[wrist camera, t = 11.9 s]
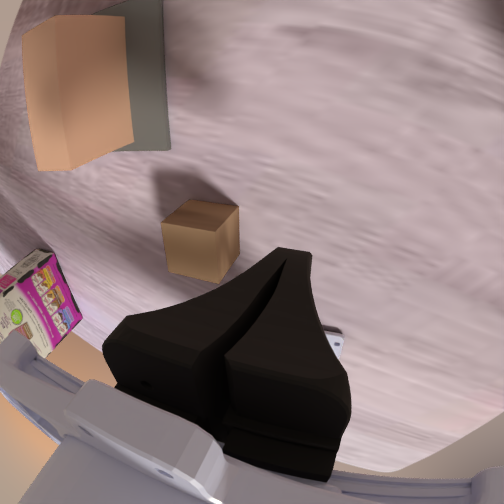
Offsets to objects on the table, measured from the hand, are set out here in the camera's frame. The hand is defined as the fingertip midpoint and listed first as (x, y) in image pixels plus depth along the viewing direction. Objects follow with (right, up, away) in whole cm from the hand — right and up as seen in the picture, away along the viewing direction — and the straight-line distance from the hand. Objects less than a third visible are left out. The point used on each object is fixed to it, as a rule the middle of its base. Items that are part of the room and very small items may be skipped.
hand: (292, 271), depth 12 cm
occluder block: (-12, +14, +8) cm, 20 cm away
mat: (-12, +14, +8) cm, 20 cm away
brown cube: (-4, +3, +12) cm, 13 cm away
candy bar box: (-28, -4, +26) cm, 38 cm away
